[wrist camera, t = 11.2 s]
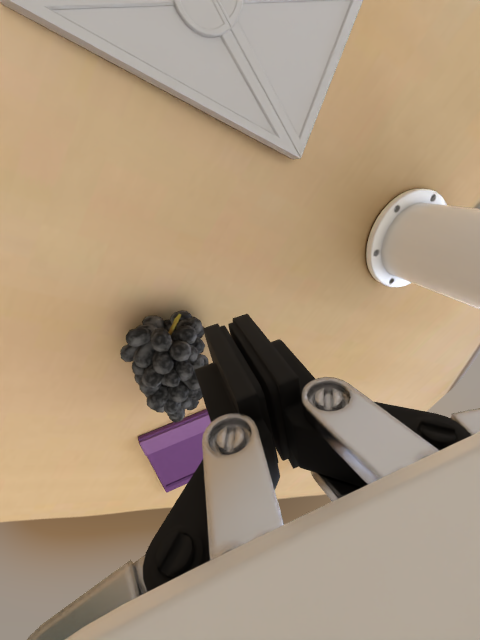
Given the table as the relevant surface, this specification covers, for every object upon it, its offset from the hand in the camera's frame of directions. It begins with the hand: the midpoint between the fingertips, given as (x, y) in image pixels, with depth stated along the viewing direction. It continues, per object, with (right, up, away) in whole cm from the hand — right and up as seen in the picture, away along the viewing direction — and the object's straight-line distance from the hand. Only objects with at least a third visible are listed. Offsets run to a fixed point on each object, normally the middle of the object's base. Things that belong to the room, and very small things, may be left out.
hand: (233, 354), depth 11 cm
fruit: (-9, -3, +25) cm, 26 cm away
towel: (-3, -16, +33) cm, 37 cm away
